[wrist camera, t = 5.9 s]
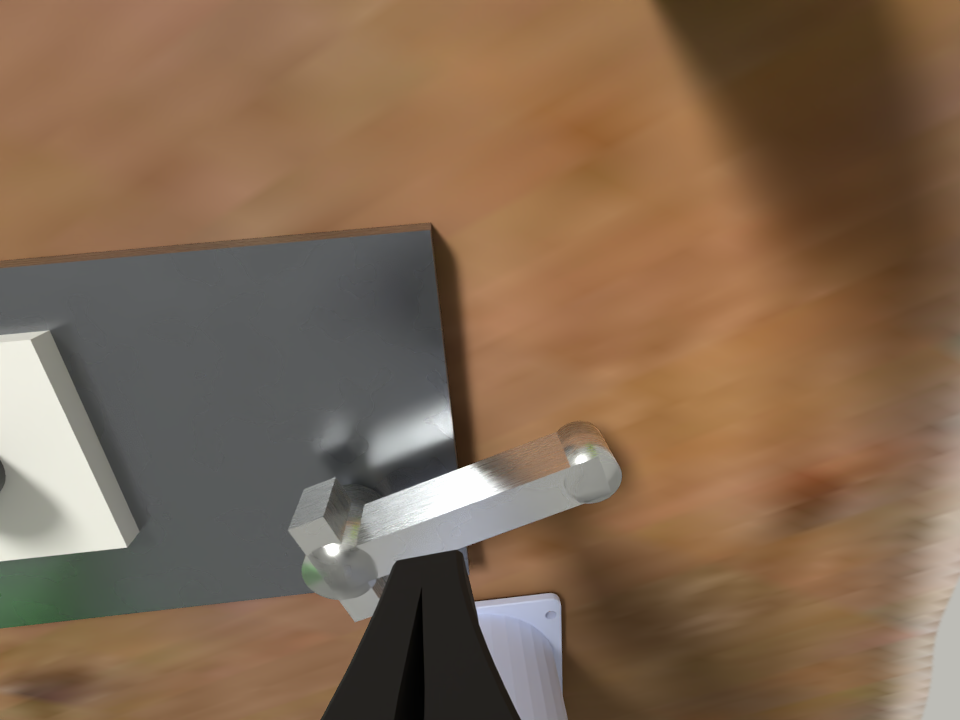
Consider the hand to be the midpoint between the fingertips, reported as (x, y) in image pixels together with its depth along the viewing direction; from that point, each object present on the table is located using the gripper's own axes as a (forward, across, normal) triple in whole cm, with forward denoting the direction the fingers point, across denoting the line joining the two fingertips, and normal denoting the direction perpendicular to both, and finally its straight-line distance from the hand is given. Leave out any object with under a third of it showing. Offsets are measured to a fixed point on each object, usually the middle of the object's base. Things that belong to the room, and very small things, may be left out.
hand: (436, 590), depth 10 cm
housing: (+9, +10, 0) cm, 14 cm away
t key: (+8, 0, +3) cm, 8 cm away
